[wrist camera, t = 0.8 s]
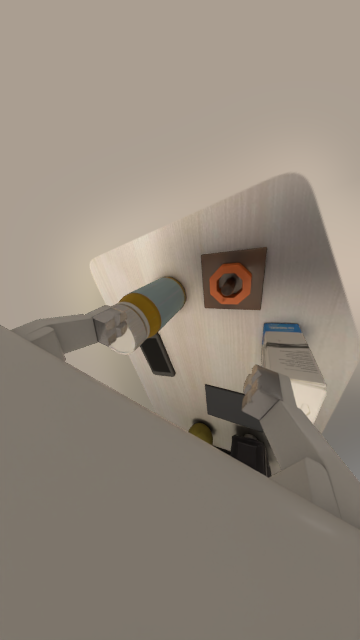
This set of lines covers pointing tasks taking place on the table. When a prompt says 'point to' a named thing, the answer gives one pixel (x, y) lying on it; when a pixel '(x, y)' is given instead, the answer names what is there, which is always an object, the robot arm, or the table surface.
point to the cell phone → (157, 356)
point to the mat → (229, 407)
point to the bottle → (148, 312)
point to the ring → (228, 269)
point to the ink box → (294, 365)
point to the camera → (251, 453)
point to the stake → (235, 277)
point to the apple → (202, 432)
